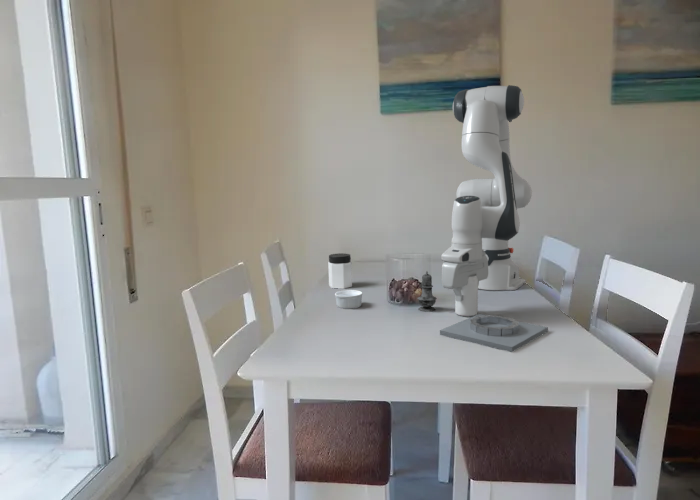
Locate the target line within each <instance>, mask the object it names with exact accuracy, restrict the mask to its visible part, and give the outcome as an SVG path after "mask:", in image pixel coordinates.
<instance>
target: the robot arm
mask: <svg viewBox="0 0 700 500" xmlns="http://www.w3.org/2000/svg"><path fill="white" fill-rule="evenodd" d="M524 106H525V98H524V94H523V92H522V88H520V87H519V86H518V85H510V84H508V85H487V86H484V87H477V88H471V89H464V90H460V91H458V92H457V93H456V94H455V96H454V99H453V103H452V113H453V115H454V118H455V120H456V121H458V122H459V123H462V130H461V144H460V145H461V152H462V156H463V157H464V159H465V160H466V161H467V162H468V163H469V164H471V165H473V166H475V167H477V168H480V169H483V170H486V171H488V172H490V173H492V174H493V176H494V177H493V178H473V179H468V180H463V181H462V182H460V184H459V185H458V187H457V189H456V191H455V192H456V193H455V196H456V197H455V199H454V201H453V205H452V210H451V211H452V213H451V221H450V222H451V223H450V224H451V227H450V228H451V230H452V232H451V233H452V237H451V241H450V246H449V247H448V248H447V249H446V250H445V251H444V252H443V253H441V256H440V257H441V259H440V260H441V261H442V262H443V263H442V265H441V284H442V285H441V286H443V288H444V289H448V290H453V293H454V296H455V295H456V301H459V302H460V301H463V295H462V293H461V290H462V286H465V285H467V283H468V279H469V276H474V275H476V274H477V275H476V277H477V279H478V290H487V291H506V290H507V291H508V290H509V291H515V290H518V289H519V288H521V286H523V285H524V284H526V282H527V281H526V279H524V278H520V268H519V265H517V264H516V263H515V262H514V260H512V257H511V255H512V254H513V253H514V251H515V250H514V248H513V247H509V240H511V239H513V238H514V237H515V236H516V235H518V233H519V230H520V222H521V221H520V217H519V213H518V209H522V208H525V207H526V206H528V204H529V203H530V201H531V199H532V196H533V195H532V194H533V191H532V188H531V185H530V183H529V182H528V181H527V180H526V179H524V178H523V177H522V176H521V175H520V174H518V172H517V171H516V170H515V168H514V166H513V163H512V160H511V150H510V126H509V124H510V123H511V122H513V120H515V119H517V118H518V117H520V115H522V111H523V109H524ZM523 283H524V284H523Z"/></svg>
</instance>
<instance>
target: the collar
mask: <svg viewBox="0 0 700 500" xmlns="http://www.w3.org/2000/svg"><path fill="white" fill-rule="evenodd" d="M485 315H486V316H477V317H475V318H472V319H471V320H470V330H472V331H474V332H476V333H479V334H483V335H488V336H508V335H513V334H515V333H517V332H519V324H518V320H516V319H515V318H512V317H508V316H503V315H502V316H501V315H489V314H485ZM487 315H488V316H487ZM488 323H491V324H501V325H506V326H507V327H488V326H483V325H481V324H488Z"/></svg>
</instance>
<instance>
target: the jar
mask: <svg viewBox="0 0 700 500" xmlns="http://www.w3.org/2000/svg"><path fill="white" fill-rule="evenodd" d="M351 260H352V259H351V254H350V253H332V254H329V255H328V262H327V263H328V264H327V265H328V266H327V267H328V286H329V287H330V288H331V289H334V288H338V289H342V290H343V289H345V290H346V289H348V288H351V287H353V270H352V269H353V267H352V262H351ZM338 289H337V290H338Z"/></svg>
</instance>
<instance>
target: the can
mask: <svg viewBox="0 0 700 500" xmlns="http://www.w3.org/2000/svg"><path fill="white" fill-rule="evenodd" d="M476 275H477V274H476ZM476 275H474V276H469V279H468V283H467V285H465V286H462V290H461V293H462V295H463V301H460V302H459V301H456V295H455V294H454V297H455V298H454V299H455V301H454V303H455V305H454V310H455V311H454V312H455V314H456V315H457V316H460V317H467V318H468V317H469V318H471V317H473V316H475V315H478V314H479V313H478V309H479V306H478V304H479V289H478V279H477V277H476Z"/></svg>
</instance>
